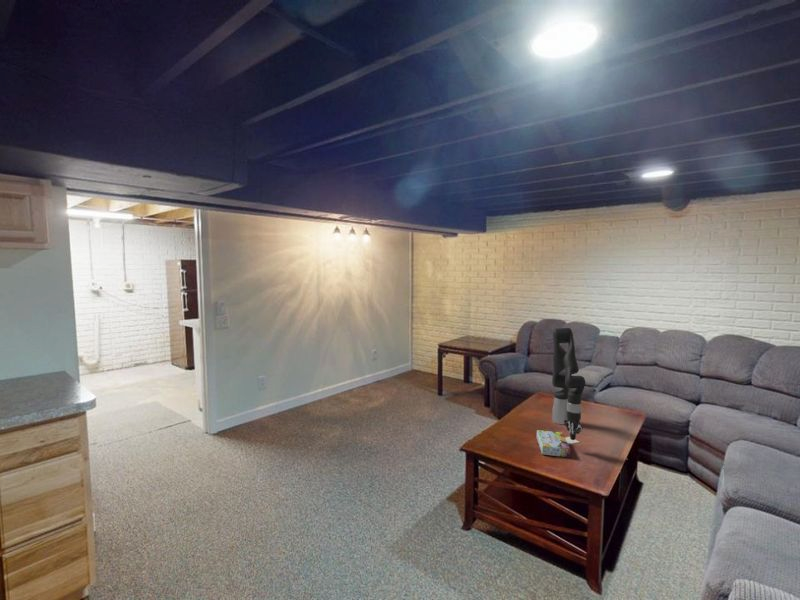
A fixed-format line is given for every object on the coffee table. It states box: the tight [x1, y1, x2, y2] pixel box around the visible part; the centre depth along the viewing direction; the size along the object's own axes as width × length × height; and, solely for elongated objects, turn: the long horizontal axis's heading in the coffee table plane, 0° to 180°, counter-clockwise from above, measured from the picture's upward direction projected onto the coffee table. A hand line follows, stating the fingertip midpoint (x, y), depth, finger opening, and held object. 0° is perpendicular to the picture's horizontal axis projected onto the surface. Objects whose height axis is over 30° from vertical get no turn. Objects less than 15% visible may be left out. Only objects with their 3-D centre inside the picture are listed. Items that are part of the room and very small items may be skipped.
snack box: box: [536, 429, 571, 458], centre depth 232 cm, size 21×6×15 cm
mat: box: [564, 436, 581, 446], centre depth 240 cm, size 8×24×1 cm, turn 110°
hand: (572, 439), depth 229 cm, fingers closed
